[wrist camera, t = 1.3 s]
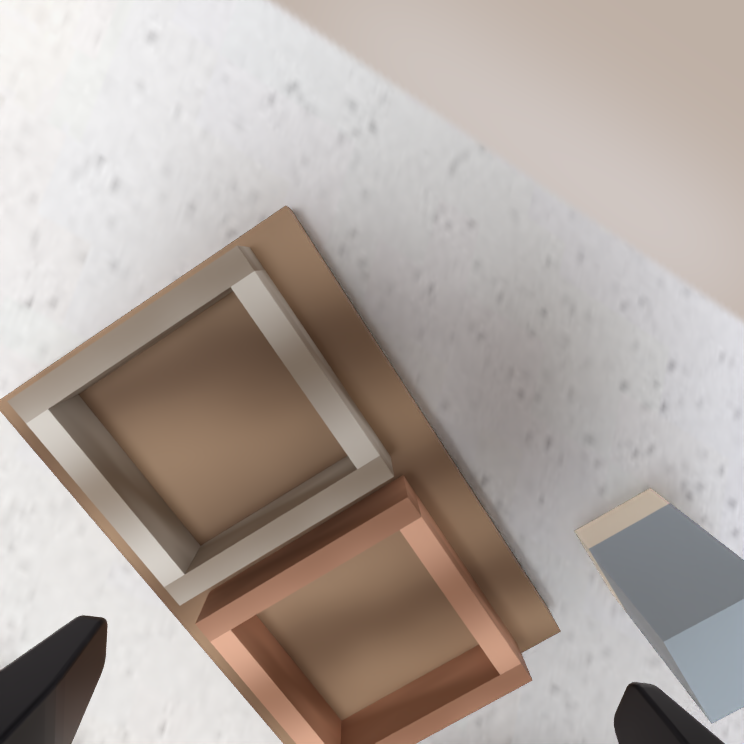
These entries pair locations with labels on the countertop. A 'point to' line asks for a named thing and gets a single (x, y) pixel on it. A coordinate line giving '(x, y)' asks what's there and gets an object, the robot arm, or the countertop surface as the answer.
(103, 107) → the countertop surface
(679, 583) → the banded block
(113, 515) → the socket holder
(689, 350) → the countertop surface
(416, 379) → the countertop surface
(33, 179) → the countertop surface
